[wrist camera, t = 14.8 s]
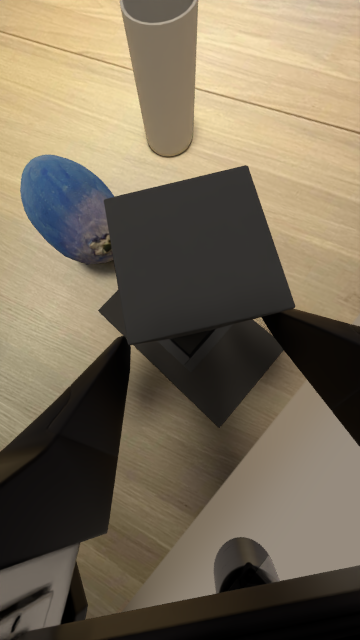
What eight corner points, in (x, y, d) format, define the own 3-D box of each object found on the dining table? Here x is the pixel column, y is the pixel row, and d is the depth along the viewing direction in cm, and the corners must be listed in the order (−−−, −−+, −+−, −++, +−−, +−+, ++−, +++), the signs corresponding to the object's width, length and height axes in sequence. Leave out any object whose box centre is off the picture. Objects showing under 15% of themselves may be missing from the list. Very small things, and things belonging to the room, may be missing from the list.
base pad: (280, 346, 17) (305, 349, 13) (217, 423, 16) (226, 446, 13) (162, 248, 19) (157, 229, 16) (102, 312, 18) (82, 306, 15)
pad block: (209, 330, 16) (297, 307, 3) (172, 338, 16) (127, 345, 4) (200, 295, 17) (248, 163, 4) (165, 303, 17) (102, 198, 4)
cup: (155, 164, 21) (132, 35, 12) (136, 115, 22) (103, -34, 13) (199, 148, 21) (210, 8, 12) (178, 101, 22) (173, -58, 13)
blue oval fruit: (55, 246, 8) (-44, 119, 11) (96, 311, 16) (34, 229, 18) (165, 218, 12) (75, 130, 14) (155, 281, 20) (98, 217, 22)
